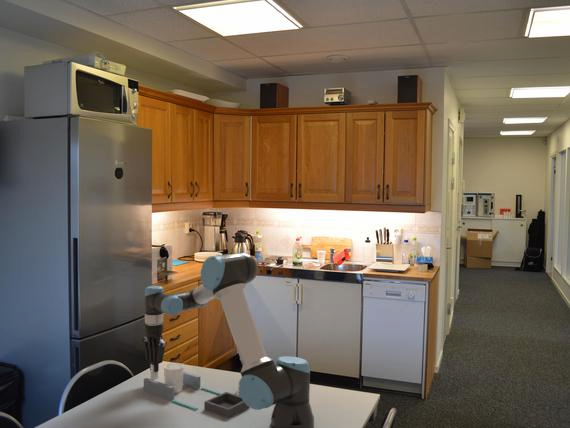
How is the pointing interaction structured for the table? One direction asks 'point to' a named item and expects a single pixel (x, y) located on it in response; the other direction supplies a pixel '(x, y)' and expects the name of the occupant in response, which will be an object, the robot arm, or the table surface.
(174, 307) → the robot arm
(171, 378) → the white cup
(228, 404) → the tray
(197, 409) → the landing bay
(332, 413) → the table surface
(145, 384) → the walled channel
